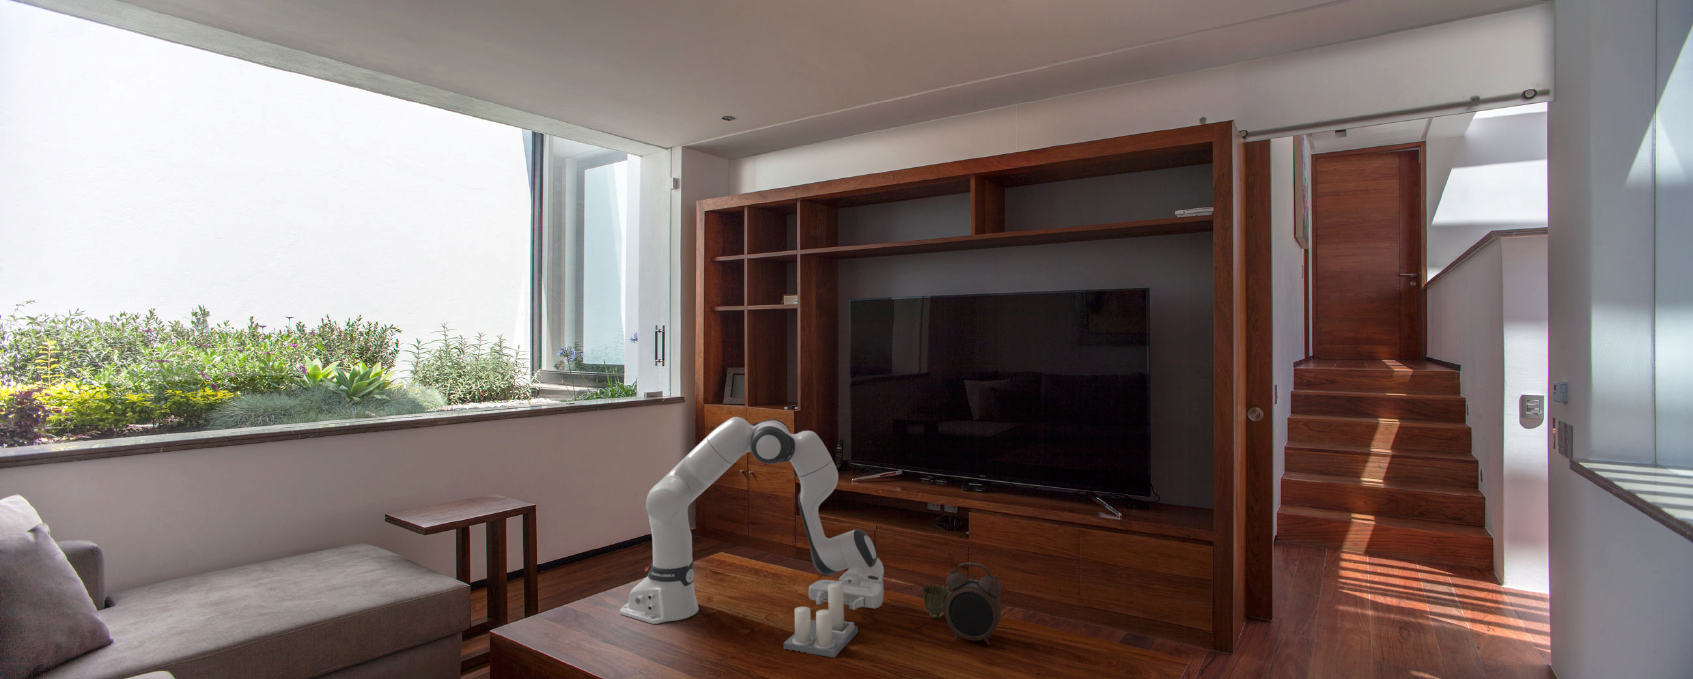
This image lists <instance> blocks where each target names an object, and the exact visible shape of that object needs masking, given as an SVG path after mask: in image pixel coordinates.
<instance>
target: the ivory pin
mask: <svg viewBox="0 0 1693 679" xmlns="http://www.w3.org/2000/svg"><path fill="white" fill-rule="evenodd" d="M827 603H828V605H827V607H828V610H830V611H832V630H834V631H841V632H843V631H844V621H845V607H844V606H845V604H844V598H843V584H840V583H833V584H829V585H828V602H827Z"/></svg>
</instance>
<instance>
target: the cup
mask: <svg viewBox="0 0 1693 679" xmlns="http://www.w3.org/2000/svg"><path fill="white" fill-rule="evenodd" d="M949 592H950V590H949V589H948V587H947V586H946V587H945V585H942V586H941V585H940V584H938V585H937V584H934V585H933V584H930V585H927V584H926V585H924V586H923V587H922V595H923V603H924V607H925V610H927V611H928V612H929V616H930V618H931V619H935V620H936V619H937V620H938V619H939V620H940V619H941V618H943V615H944V607H945V602H946V598H947V596H948V594H949Z"/></svg>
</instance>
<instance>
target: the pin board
mask: <svg viewBox="0 0 1693 679" xmlns="http://www.w3.org/2000/svg"><path fill="white" fill-rule="evenodd" d="M858 627H859V626H856V625H855V622H851V621H845V620H844V631H843V632H841V631H834V630H832V611H830V610H829V609H819V610H817V611H816V612H815V619H811V608H810V607H808V606H797V607H795V608H794V633H793V634H792V635H791V636H790V637H789V638H787V639H786V640H785V641H784V642H783V649H784V650H786V649H788V651H792V650H795V651H794V652H798V651H800V653H804V652H806V653H807V654H810V655H811V654H812V655H817V656H824V657H829V658H836V657H837V656H838V654H839V653H841V651H842V650H843V649H844V648H845V647H846V646H847V645H848V644H849V642H851V640H853V638H854V637H855V636H856V635H857V634H858V633H859V628H858ZM806 653H805V654H806Z"/></svg>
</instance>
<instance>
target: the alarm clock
mask: <svg viewBox="0 0 1693 679" xmlns="http://www.w3.org/2000/svg"><path fill="white" fill-rule="evenodd" d="M967 566H971V567H977V568H978V567H979V568H981V569H983V570H985V572H986V575H984V576H982V577H981V578H980V579H977V575H975V574H970V575H969V577H968V575H967V574H965V572H963V571H959V569H960V568H961V567H967ZM949 572H950V573H949V574H947V578H946V581H945V584H946V587H948V589H949V594H948V596H947V598H946V602H945V607H944V612H943V614H944V617H945V620H946V623H947V625H948V626H949V628H950V629H951V631H952V632H953V633H954V634H955V636H954V638H952V639H953V641H954V642H956V640H957V639H958V638H959V637H960V638H962V639H963V640H964V639H965V640H968V641H975V642H976V641H982V640H984V641H985V643H987V644H990V645H991V643H990V641H989V639H988V638H991V637H992V634H993V633H994V632H995V631H996V630H997V628H998V626H999V624H1000V621H1001V619H1002V603H1001V599H1000V597H999V596H1000V594H1001V592H1002V587H1003V586H1002V582H1000V580H999V579H998V575H997V574H995V575H992V572H991V571H990V570H989V568H988V567H987V566H986V565H984V564H981V563H978V562H977V563H975V562H963V563H959V564H958V565H957V566H956V568H955V570H954V569H952V568H951V569H950V570H949ZM987 644H986V645H987Z"/></svg>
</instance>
